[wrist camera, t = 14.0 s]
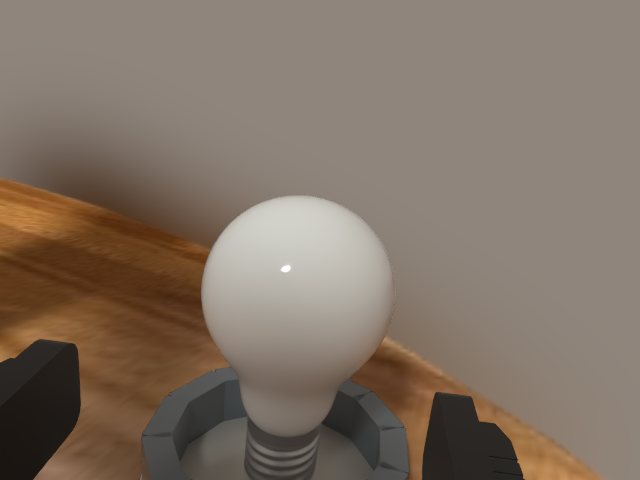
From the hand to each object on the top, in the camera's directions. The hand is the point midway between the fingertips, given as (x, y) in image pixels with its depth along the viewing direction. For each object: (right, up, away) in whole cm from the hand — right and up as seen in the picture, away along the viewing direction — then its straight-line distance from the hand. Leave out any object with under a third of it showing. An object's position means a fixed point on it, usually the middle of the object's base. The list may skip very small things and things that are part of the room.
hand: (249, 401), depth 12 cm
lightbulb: (0, -6, +9) cm, 11 cm away
